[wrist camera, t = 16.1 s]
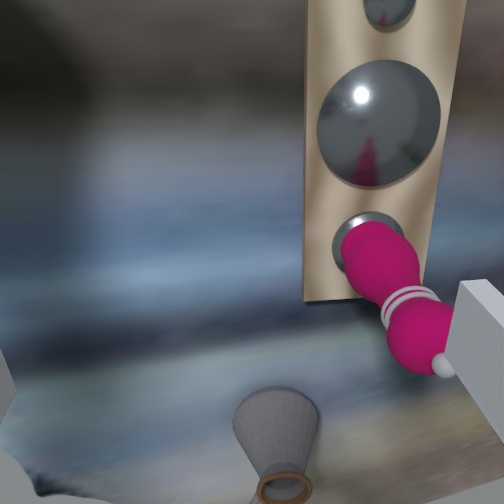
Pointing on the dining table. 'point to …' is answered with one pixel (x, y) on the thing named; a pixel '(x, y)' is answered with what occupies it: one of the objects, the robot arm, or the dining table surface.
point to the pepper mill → (399, 296)
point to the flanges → (379, 113)
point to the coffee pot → (277, 442)
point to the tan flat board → (315, 90)
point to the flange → (352, 223)
